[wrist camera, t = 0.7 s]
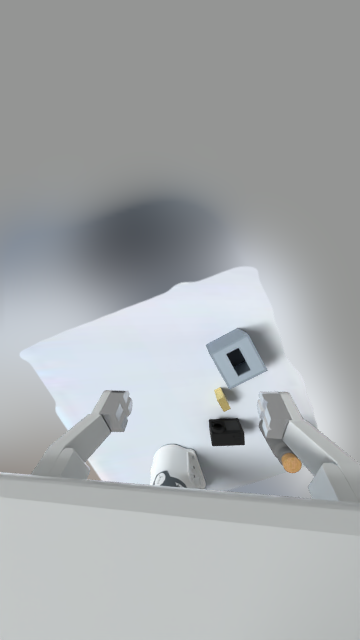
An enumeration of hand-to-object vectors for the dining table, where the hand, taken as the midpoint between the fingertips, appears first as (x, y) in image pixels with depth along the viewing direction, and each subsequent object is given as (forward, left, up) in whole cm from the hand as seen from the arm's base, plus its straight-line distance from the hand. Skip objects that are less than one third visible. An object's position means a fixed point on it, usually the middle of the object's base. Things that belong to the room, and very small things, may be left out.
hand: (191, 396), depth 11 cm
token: (-29, +3, -47) cm, 56 cm away
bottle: (-47, -6, -48) cm, 67 cm away
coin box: (-17, -7, -47) cm, 51 cm away
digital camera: (-39, +7, -48) cm, 62 cm away
